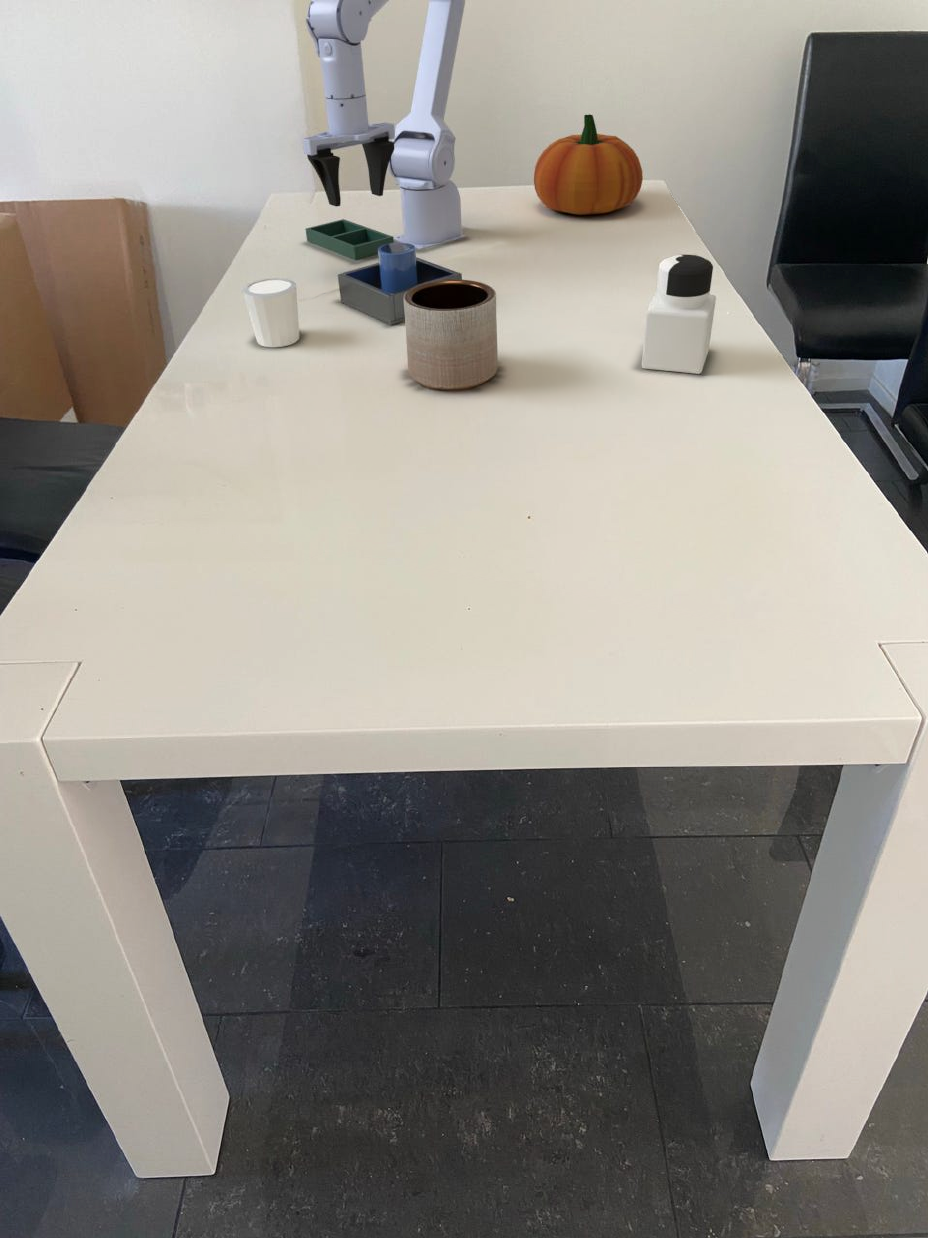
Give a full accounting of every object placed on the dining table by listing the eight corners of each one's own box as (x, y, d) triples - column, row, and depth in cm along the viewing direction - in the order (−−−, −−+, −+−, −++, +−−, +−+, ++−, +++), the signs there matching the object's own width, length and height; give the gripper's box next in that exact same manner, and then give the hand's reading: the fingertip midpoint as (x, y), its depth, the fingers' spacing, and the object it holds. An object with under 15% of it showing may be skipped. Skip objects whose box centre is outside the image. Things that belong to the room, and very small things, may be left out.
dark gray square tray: (410, 281, 136) (408, 253, 133) (463, 301, 128) (461, 273, 126) (340, 302, 130) (337, 274, 127) (391, 325, 122) (388, 295, 120)
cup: (397, 290, 131) (393, 239, 127) (426, 296, 129) (422, 245, 125) (375, 301, 128) (370, 250, 124) (403, 307, 126) (399, 255, 121)
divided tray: (345, 233, 156) (343, 218, 155) (394, 252, 147) (393, 236, 146) (307, 243, 153) (305, 228, 151) (355, 263, 143) (353, 247, 142)
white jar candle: (309, 329, 122) (301, 276, 118) (297, 349, 117) (288, 295, 112) (260, 329, 123) (250, 277, 118) (246, 349, 118) (235, 295, 113)
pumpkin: (627, 190, 171) (634, 101, 162) (650, 218, 156) (658, 121, 147) (527, 196, 171) (527, 107, 161) (540, 225, 156) (541, 128, 146)
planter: (511, 362, 111) (511, 283, 105) (475, 398, 103) (473, 316, 97) (433, 350, 115) (428, 274, 109) (392, 384, 107) (385, 304, 101)
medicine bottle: (708, 351, 111) (722, 251, 104) (701, 375, 106) (715, 271, 98) (651, 346, 113) (660, 247, 106) (640, 368, 108) (649, 266, 100)
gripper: (316, 106, 119) (329, 214, 128) (404, 91, 126) (411, 194, 135) (289, 100, 124) (304, 205, 132) (375, 86, 131) (384, 186, 139)
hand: (356, 199), depth 134 cm, fingers open, 7 cm apart
